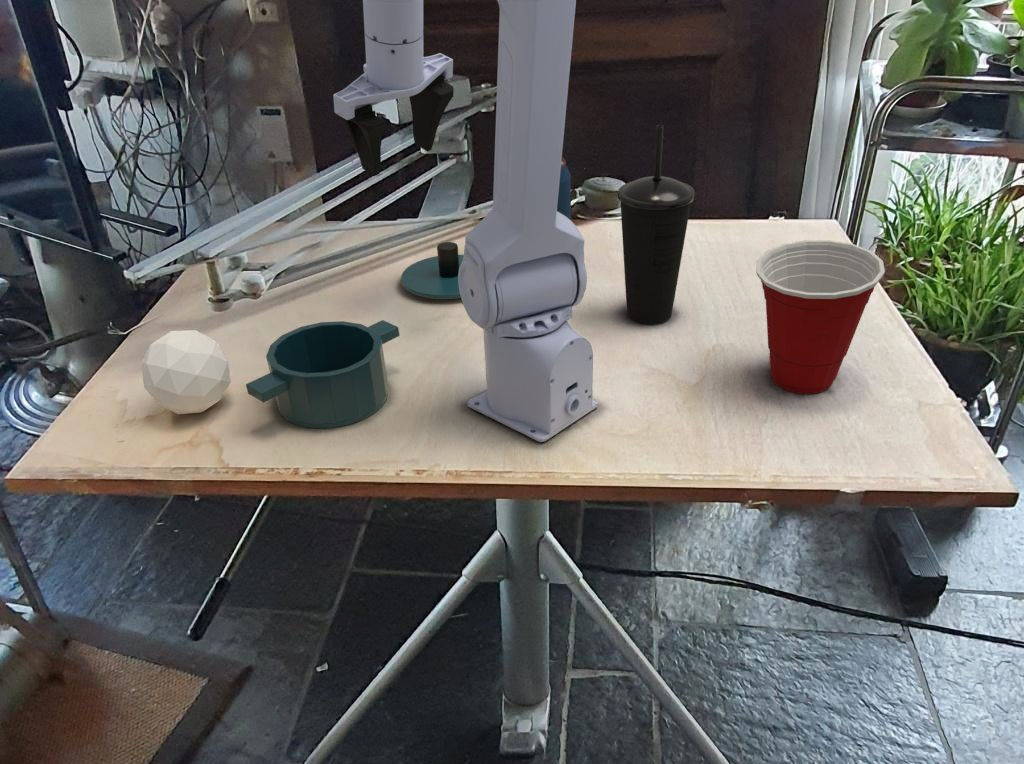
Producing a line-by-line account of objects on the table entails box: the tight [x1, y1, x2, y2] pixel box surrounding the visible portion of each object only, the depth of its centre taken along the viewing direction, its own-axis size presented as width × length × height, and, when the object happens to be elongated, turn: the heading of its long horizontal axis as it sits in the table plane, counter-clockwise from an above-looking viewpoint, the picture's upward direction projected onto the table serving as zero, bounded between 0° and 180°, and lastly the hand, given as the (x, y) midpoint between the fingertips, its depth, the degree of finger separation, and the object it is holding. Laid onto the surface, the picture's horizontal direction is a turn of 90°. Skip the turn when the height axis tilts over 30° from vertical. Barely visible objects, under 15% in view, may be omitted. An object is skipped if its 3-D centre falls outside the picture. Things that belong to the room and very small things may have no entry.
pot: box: [245, 319, 400, 429], centre depth 84 cm, size 10×16×6 cm, turn 137°
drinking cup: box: [617, 124, 696, 325], centre depth 91 cm, size 8×8×20 cm
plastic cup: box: [755, 239, 886, 395], centre depth 81 cm, size 11×11×12 cm
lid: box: [400, 241, 464, 300], centre depth 104 cm, size 11×11×5 cm
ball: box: [141, 329, 232, 415], centre depth 83 cm, size 8×8×8 cm
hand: (397, 158), depth 97 cm, fingers open, 7 cm apart
